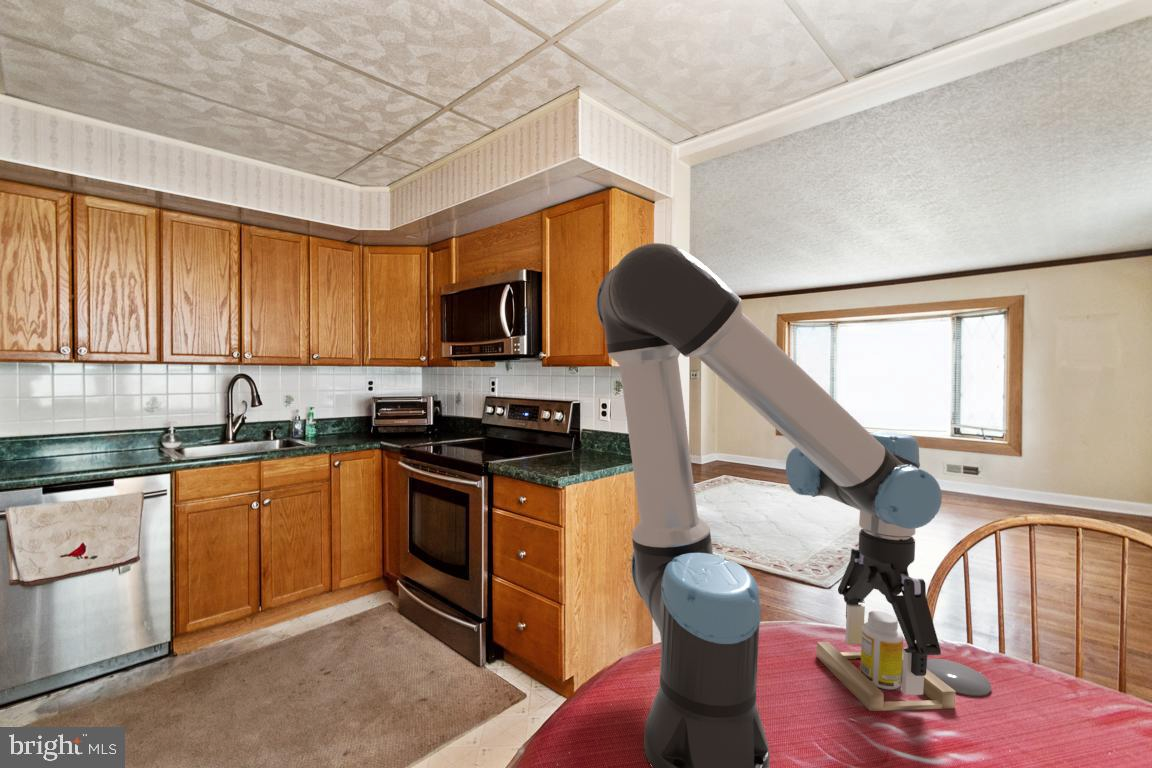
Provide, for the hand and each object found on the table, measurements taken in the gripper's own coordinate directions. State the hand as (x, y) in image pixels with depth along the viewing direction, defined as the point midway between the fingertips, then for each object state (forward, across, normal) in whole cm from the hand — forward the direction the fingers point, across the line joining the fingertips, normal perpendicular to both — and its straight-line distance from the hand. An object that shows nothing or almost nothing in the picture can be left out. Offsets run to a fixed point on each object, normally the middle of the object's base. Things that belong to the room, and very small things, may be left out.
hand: (880, 666), depth 82 cm
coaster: (+2, 0, -12) cm, 13 cm away
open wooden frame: (+2, 0, 0) cm, 2 cm away
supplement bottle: (+2, 0, 0) cm, 2 cm away
